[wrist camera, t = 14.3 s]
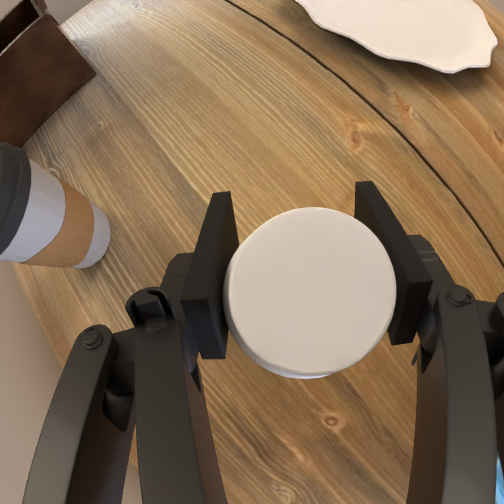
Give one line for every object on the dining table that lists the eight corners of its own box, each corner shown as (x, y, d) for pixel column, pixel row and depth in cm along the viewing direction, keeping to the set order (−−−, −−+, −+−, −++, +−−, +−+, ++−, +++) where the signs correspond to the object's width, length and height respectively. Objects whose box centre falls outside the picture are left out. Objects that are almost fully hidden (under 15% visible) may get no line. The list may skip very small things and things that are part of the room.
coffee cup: (109, 183, 30) (9, 111, 15) (132, 257, 28) (13, 216, 13) (51, 220, 30) (-53, 177, 15) (69, 291, 28) (-51, 276, 14)
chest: (10, 159, 33) (-54, 122, 20) (-2, 111, 36) (-50, 76, 23) (97, 73, 33) (46, 12, 20) (71, 39, 36) (31, -9, 23)
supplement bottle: (368, 311, 16) (459, 318, 7) (284, 369, 16) (276, 448, 7) (312, 228, 17) (337, 141, 8) (228, 284, 17) (155, 261, 8)
